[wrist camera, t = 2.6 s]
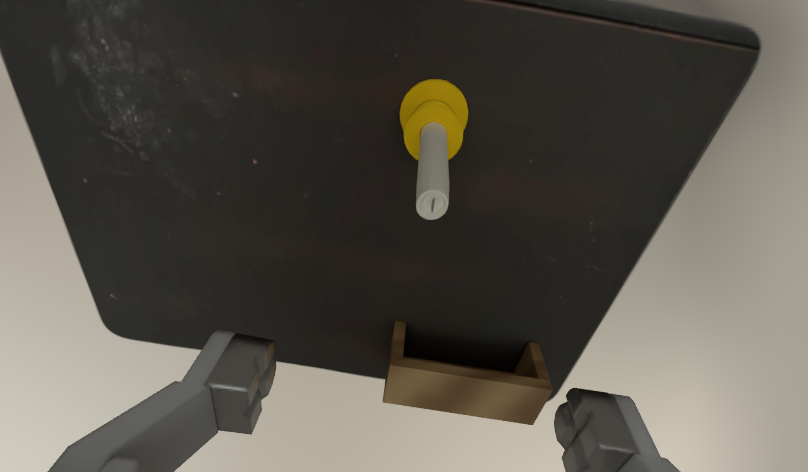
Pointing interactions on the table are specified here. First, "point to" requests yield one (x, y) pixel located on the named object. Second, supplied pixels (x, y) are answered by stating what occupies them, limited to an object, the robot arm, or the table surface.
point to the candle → (433, 139)
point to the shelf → (467, 385)
